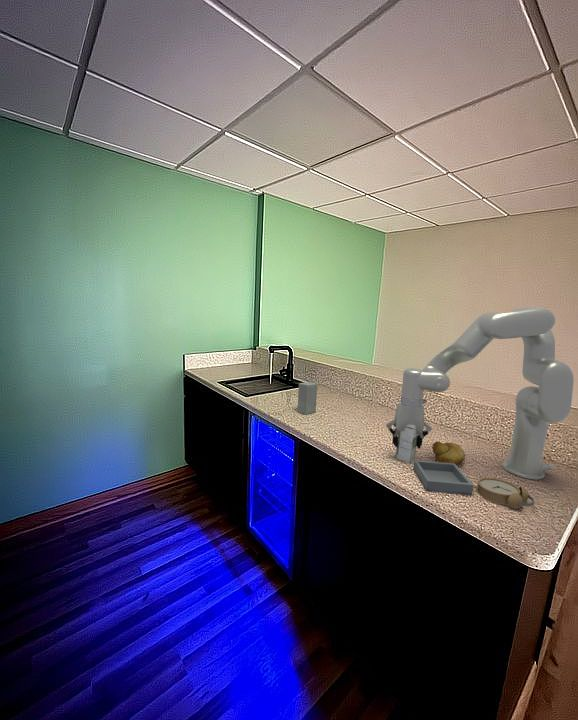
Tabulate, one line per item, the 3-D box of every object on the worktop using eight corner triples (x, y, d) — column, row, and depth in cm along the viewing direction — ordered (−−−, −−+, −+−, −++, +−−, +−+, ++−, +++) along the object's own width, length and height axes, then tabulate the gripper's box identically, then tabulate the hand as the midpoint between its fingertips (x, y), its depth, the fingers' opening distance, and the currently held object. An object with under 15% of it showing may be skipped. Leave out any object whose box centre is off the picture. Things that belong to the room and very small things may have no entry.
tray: (453, 472, 114) (454, 463, 114) (472, 495, 100) (473, 485, 100) (413, 469, 115) (414, 460, 115) (426, 491, 101) (427, 481, 101)
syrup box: (400, 453, 127) (404, 418, 125) (415, 458, 123) (419, 422, 121) (395, 458, 123) (398, 422, 120) (410, 463, 119) (414, 426, 117)
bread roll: (448, 453, 130) (450, 434, 128) (472, 464, 122) (475, 444, 120) (428, 460, 123) (430, 440, 122) (451, 471, 115) (454, 450, 114)
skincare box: (305, 415, 167) (307, 385, 164) (296, 411, 172) (297, 382, 169) (316, 412, 172) (318, 383, 170) (307, 408, 178) (309, 380, 175)
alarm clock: (484, 474, 109) (539, 487, 97) (485, 488, 109) (540, 503, 97) (470, 484, 102) (527, 499, 90) (471, 499, 102) (528, 517, 90)
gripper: (431, 400, 122) (426, 443, 125) (385, 397, 124) (381, 440, 127) (439, 406, 115) (433, 452, 118) (389, 403, 116) (385, 448, 119)
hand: (406, 446), depth 122 cm, fingers closed on syrup box, 7 cm apart
